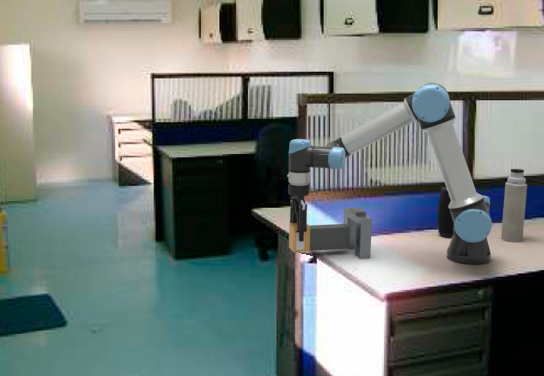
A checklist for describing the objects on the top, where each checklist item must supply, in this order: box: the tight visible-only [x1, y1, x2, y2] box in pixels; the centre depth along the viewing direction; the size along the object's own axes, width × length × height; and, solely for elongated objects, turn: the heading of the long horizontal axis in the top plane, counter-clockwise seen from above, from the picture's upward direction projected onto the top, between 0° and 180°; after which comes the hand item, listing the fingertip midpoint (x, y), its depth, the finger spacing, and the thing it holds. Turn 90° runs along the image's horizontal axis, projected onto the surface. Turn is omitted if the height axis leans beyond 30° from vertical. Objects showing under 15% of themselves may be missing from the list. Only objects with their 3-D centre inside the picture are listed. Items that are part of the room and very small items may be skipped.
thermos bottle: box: [500, 168, 528, 243], centre depth 273 cm, size 8×8×28 cm
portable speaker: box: [437, 186, 454, 239], centre depth 279 cm, size 9×9×20 cm
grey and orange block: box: [288, 222, 350, 253], centre depth 252 cm, size 21×6×9 cm, turn 104°
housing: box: [342, 206, 373, 260], centre depth 255 cm, size 18×4×16 cm, turn 14°
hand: (297, 246), depth 251 cm, fingers closed on grey and orange block, 6 cm apart
